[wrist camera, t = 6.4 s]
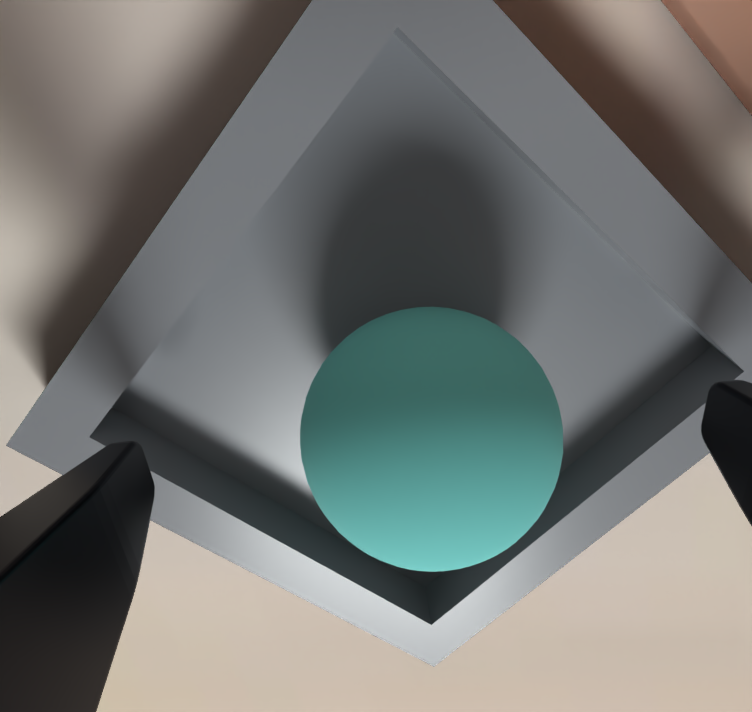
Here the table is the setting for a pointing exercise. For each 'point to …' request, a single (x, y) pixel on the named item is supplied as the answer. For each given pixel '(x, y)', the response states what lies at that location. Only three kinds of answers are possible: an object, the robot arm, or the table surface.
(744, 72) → the dish
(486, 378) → the ball
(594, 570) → the table surface
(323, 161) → the tray
